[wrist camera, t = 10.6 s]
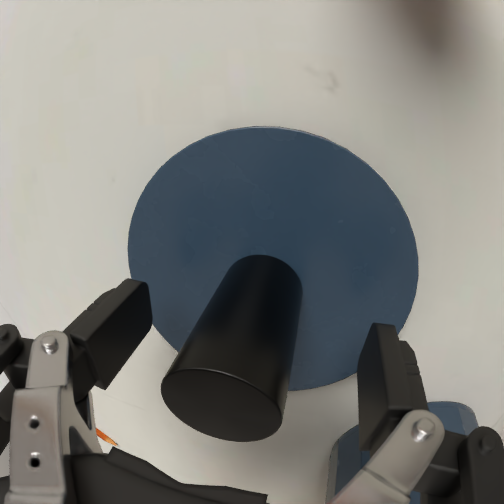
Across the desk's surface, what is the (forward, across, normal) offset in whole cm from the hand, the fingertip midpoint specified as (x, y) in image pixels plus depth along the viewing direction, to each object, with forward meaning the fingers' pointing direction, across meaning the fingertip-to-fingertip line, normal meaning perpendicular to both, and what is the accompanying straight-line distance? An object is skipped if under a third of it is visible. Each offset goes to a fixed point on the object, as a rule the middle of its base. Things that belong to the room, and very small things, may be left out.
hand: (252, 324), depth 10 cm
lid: (+3, 0, 0) cm, 3 cm away
